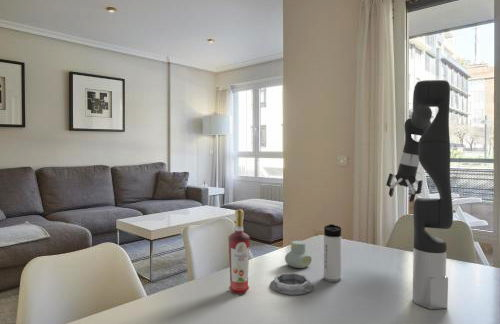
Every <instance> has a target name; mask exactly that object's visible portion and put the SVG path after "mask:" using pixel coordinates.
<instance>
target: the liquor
mask: <svg viewBox="0 0 500 324" xmlns="http://www.w3.org/2000/svg"><path fill="white" fill-rule="evenodd" d="M234 214H235V216H234V217H235V227H234V232H233V233H231V234H229V236H228V239H227V240H228V257H229V258H228V259H229V276H230V277H229V281H230V283H229V284H230V285H229V287H228V288H229V291H231V292H232V293H233V294H234V295H235V294H236V295H243V294H245V293H247V291H248V290H249V289H250V286H249V260H250V259H249V258H250V241H251V239H250V238H251V236H250V235H248V234H247V233H246V232H244V221H243V218H244V210H243V209H235V210H234Z"/></svg>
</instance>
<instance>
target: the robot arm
mask: <svg viewBox="0 0 500 324" xmlns="http://www.w3.org/2000/svg"><path fill="white" fill-rule="evenodd" d="M450 101H451V86H450V82H449V81H448V80H446V79H424V80H419V81H417V82H416V84H415V85H414V88H413V96H412V114H411V117H408V118H407V119H406V120H405V122H404V126H403V127H404V128H403V129H404V137H405V139H404V146H403V150H402V154H401V156H400V160H399V165H398V168H397V174H395V173H393V172H391V173H389V174H388V178H387V180H386V184H385V186H387V187H388V188H389V189H388V190H389V191H388V195H389V197H393V196H394V191H395V187H397V186H398V185H399V186H401V187H402V186H403V187H404V188H408V189H409V190H410V192H411V193H410V196H409V203H412V202H414V203H413V208H412V209H413V211H412V212H413V214H412V215H413V252H412V254H413V255H412V256H413V258H412V259H413V260H412V262H413V263H412V301H413V302H414V303H415V304H416V305H418V306H421V307H424V308H427V309H429V310H441V309H447V308H448V299H449V298H448V297H449V295H448V294H449V277H448V276H446V275H447V251H448V250H447V247H448V246H447V243H446V241H445V240H443V239H442V238H440V237H437V236H435V235H433V234H431V233H429V232H428V231H427V230H426V229H425V228H428V229H441V230H449V229H451V227H452V225H453V221H454V209H453V198H452V196H453V195H452V187H451V139H450ZM431 108H438V109H437V110H438V111H437V113H436V115H435V117H434V118H433V120H432V121H431V119H432V116H433V115H432V114H433V111H432V109H431ZM412 135H415V136H419V140H416V139H415V138H413V137H412ZM419 165H421V167H422V168H423V169H424V171H425V172H426V173H427V175H428V176H429V178H430V179H431V181H433V183H434V185H435V187H436V190H437V192H438V194H439V198H431V197H417V198H416V195H420V194H421V193H422V187H423V183H424V182H423V179H417V178H416V177H417V173H418V168H419ZM393 179H396V181H395V182H393V183H392V181H393ZM415 183H416V185H417V189H415V186H414V184H415Z"/></svg>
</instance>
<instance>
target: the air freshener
mask: <svg viewBox="0 0 500 324" xmlns="http://www.w3.org/2000/svg"><path fill="white" fill-rule="evenodd" d="M290 245H291V247H290V251H288V252H287V253H286V255H285V257H284V260H285V262H286V264H287V265H288V266H290V267H292V268H295V269H305V268H307V267H309V265H311V264H312V260H313V259H312V256H311V255H310V254H309V252H306V242H305V241H303V240H293V241H291V243H290Z"/></svg>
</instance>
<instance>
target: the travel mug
mask: <svg viewBox="0 0 500 324" xmlns="http://www.w3.org/2000/svg"><path fill="white" fill-rule="evenodd" d="M323 231H324V233H323V279H324V280H325V281H326V282H329V283H339V282H340V281H341V280H342V227H340V226H338V225H335V224H333V223H332V224H328V225H325V226H324V228H323Z"/></svg>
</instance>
